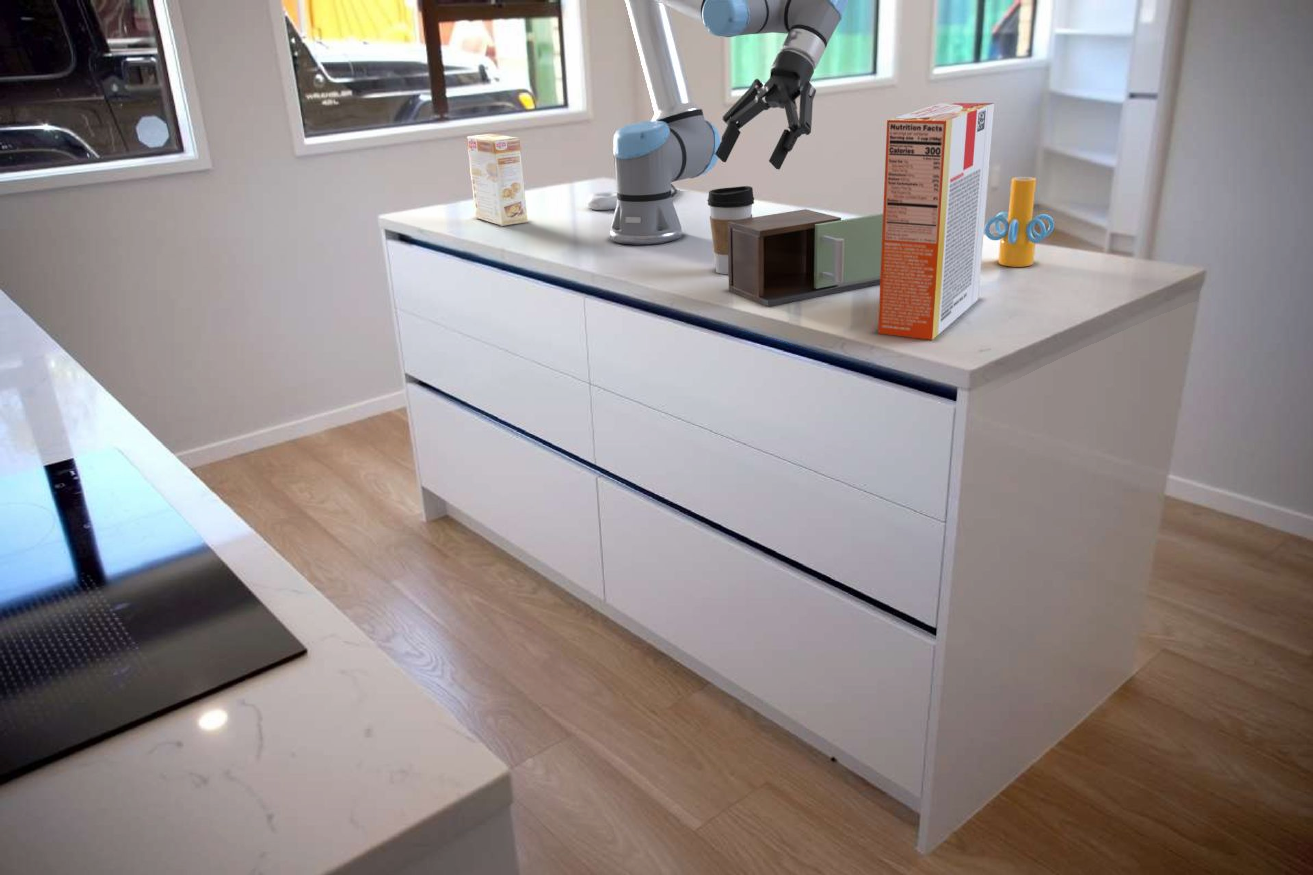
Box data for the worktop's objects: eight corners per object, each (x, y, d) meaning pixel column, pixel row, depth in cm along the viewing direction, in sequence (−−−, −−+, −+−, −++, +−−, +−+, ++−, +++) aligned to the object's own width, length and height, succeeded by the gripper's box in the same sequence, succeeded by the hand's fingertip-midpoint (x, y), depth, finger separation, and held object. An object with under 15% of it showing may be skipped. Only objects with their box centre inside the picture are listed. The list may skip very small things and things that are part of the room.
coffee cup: (752, 276, 180) (751, 192, 174) (705, 276, 182) (703, 192, 176) (757, 265, 187) (756, 184, 182) (712, 265, 189) (710, 184, 183)
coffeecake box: (528, 222, 237) (520, 137, 229) (501, 226, 233) (492, 140, 225) (501, 214, 248) (492, 132, 240) (474, 218, 245) (465, 136, 237)
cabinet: (728, 291, 171) (727, 221, 167) (854, 267, 183) (856, 201, 178) (767, 306, 161) (767, 233, 157) (898, 280, 173) (902, 211, 168)
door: (813, 288, 166) (814, 224, 162) (887, 273, 172) (890, 212, 168) (834, 295, 161) (835, 229, 157) (909, 280, 168) (912, 217, 164)
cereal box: (928, 294, 164) (940, 103, 152) (978, 299, 160) (994, 103, 148) (878, 333, 146) (887, 120, 134) (932, 340, 142) (946, 121, 130)
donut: (585, 213, 245) (626, 210, 245) (584, 198, 244) (625, 196, 243) (588, 205, 254) (627, 203, 254) (587, 191, 253) (626, 189, 252)
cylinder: (1037, 274, 172) (1047, 186, 166) (977, 268, 178) (984, 183, 172) (1053, 258, 182) (1063, 174, 176) (995, 253, 187) (1002, 172, 181)
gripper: (737, 47, 191) (688, 144, 189) (840, 50, 173) (787, 156, 172) (757, 71, 196) (710, 166, 195) (860, 76, 179) (808, 179, 178)
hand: (746, 162), depth 183 cm, fingers open, 13 cm apart
